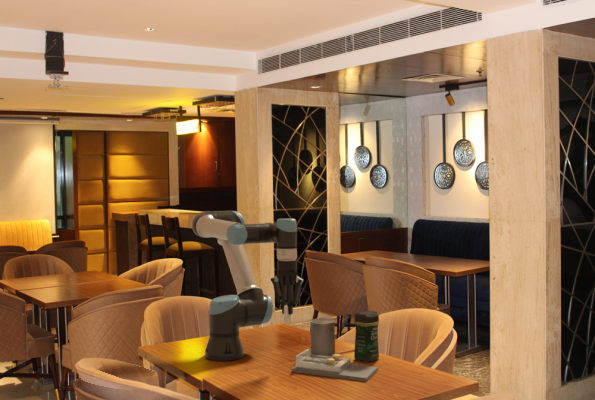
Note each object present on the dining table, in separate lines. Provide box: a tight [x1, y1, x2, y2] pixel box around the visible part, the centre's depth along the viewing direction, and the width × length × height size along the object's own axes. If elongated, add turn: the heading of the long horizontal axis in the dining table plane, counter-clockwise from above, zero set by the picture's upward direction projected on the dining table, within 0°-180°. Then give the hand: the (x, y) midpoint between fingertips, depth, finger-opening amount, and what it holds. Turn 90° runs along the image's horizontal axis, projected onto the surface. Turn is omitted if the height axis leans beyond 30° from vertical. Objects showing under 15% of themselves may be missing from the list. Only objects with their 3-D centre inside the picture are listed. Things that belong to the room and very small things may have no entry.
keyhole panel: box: [295, 348, 351, 373], centre depth 209 cm, size 17×11×4 cm, turn 66°
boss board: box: [291, 353, 379, 383], centre depth 207 cm, size 28×14×5 cm, turn 66°
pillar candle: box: [309, 317, 336, 357], centre depth 228 cm, size 10×10×15 cm
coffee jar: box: [353, 310, 380, 363], centre depth 222 cm, size 10×8×19 cm
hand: (287, 322), depth 215 cm, fingers closed
